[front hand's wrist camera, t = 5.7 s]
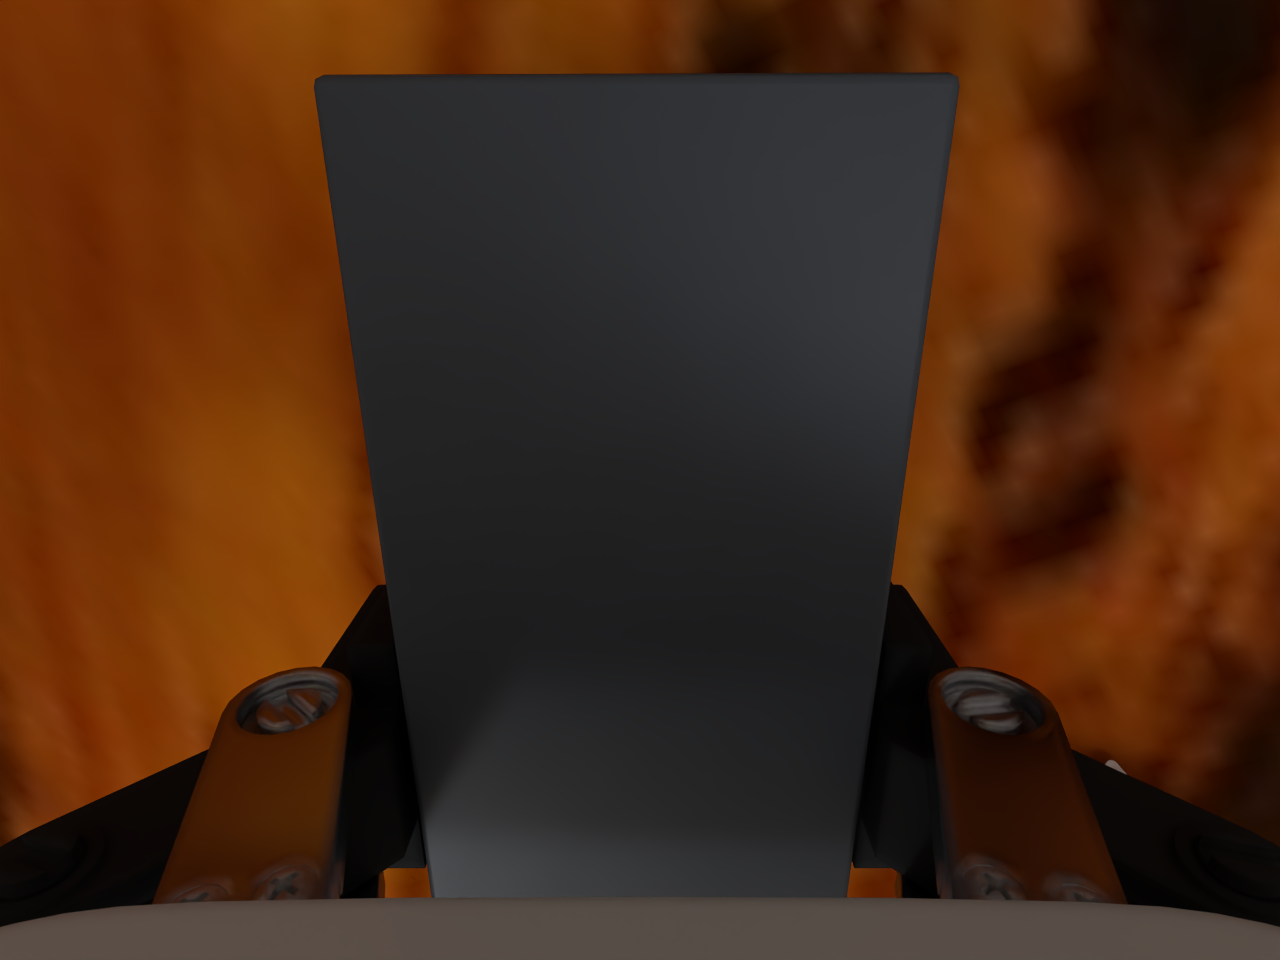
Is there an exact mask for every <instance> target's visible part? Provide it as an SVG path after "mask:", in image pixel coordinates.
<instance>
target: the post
mask: <svg viewBox="0 0 1280 960" xmlns="http://www.w3.org/2000/svg"><path fill="white" fill-rule="evenodd" d="M314 91H315V98H316V105H317V111H318V118H319V125H320V132H321V139H322V146H323V153H324V160H325V166H326V173H327V180H328V187H329V194H330V201H331V208H332V215H333V221H334V228H335V235H336V242H337V249H338V256H339V263H340V270H341V276H342V283H343V290H344V297H345V304H346V311H347V318H348V325H349V331H350V338H351V345H352V352H353V359H354V366H355V373H356V380H357V386H358V393H359V400H360V407H361V414H362V421H363V428H364V435H365V441H366V448H367V455H368V462H369V469H370V476H371V483H372V490H373V496H374V503H375V510H376V517H377V524H378V531H379V538H380V545H381V551H382V558H383V565H384V572H385V579H386V586H387V593H388V600H389V606H390V613H391V620H392V627H393V634H394V641H395V648H396V655H397V661H398V668H399V675H400V682H401V689H402V696H403V703H404V710H405V716H406V723H407V730H408V737H409V744H410V751H411V758H412V765H413V771H414V778H415V785H416V792H417V799H418V806H419V813H420V820H421V827H422V833H423V840H424V847H425V854H426V861H427V868H428V875H429V882H430V888H431V895H432V898H492V897H788V898H847V891H848V883H849V876H850V869H851V862H852V855H853V847H854V840H855V833H856V826H857V819H858V811H859V804H860V797H861V790H862V783H863V775H864V768H865V761H866V754H867V747H868V739H869V732H870V725H871V718H872V711H873V704H874V696H875V689H876V682H877V675H878V668H879V660H880V653H881V646H882V639H883V632H884V624H885V617H886V610H887V603H888V596H889V588H890V581H891V574H892V567H893V560H894V552H895V545H896V538H897V531H898V524H899V517H900V509H901V502H902V495H903V488H904V481H905V473H906V466H907V459H908V452H909V445H910V437H911V430H912V423H913V416H914V409H915V401H916V394H917V387H918V380H919V373H920V365H921V358H922V351H923V344H924V337H925V330H926V322H927V315H928V308H929V301H930V294H931V286H932V279H933V272H934V265H935V258H936V250H937V243H938V236H939V229H940V222H941V214H942V207H943V200H944V193H945V186H946V178H947V171H948V164H949V157H950V150H951V143H952V135H953V128H954V121H955V114H956V107H957V99H958V92H959V80H958V77H957V76H955V75H953V74H951V73H683V74H398V75H323V76H321V77H319V78H317V79H315V84H314Z"/></svg>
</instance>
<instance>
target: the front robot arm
mask: <svg viewBox="0 0 1280 960" xmlns="http://www.w3.org/2000/svg"><path fill="white" fill-rule="evenodd" d="M852 862H853V865H854V868H893V869H894V870H896V871H897V874H896V880H895V898H788V897H492V898H385V880H384V874H383V871H384V870H385V869H387V868H425V867H426V863H427V861H426V854H425V847H424V840H423V833H422V827H421V820H420V813H419V806H418V799H417V792H416V785H415V778H414V771H413V765H412V758H411V751H410V744H409V737H408V730H407V723H406V716H405V710H404V703H403V696H402V689H401V682H400V675H399V668H398V661H397V655H396V648H395V641H394V634H393V627H392V620H391V613H390V606H389V600H388V593H387V586H386V585H377V586H376V587H375V588H374V589H373V591H372V592H371V594H370V595H369V597H368V598H367V600H366V601H365V603H364V604H363V606H362V607H361V609H360V610H359V611H358V613H357V614H356V616H355V617H354V619H353V620H352V622H351V623H350V625H349V626H348V628H347V629H346V631H345V632H344V634H343V635H342V637H341V638H340V640H339V641H338V643H337V644H336V646H335V647H334V649H333V650H332V652H331V653H330V655H329V656H328V658H327V659H326V661H325V662H324V664H323V665H322V667H302V668H294V669H290V670H286V671H281V672H277V673H275V674H272V675H270V676H267V677H265V678H262V679H260V680H258V681H256V682H254V683H253V684H251V685H249V686H248V687H246V688H244V689H243V690H241V691H240V692H239V693H238V694H237V695H236V696H235V697H234V698H233V699H232V700H230V701H229V703H228V705H227V706H226V708H225V709H224V711H223V713H222V715H221V718H220V720H219V723H218V726H217V729H216V731H215V734H214V737H213V739H212V742H211V745H210V748H209V749H208V750H206V751H203V752H201V753H199V754H197V755H195V756H192V757H190V758H188V759H186V760H184V761H181V762H179V763H177V764H175V765H173V766H171V767H168V768H166V769H164V770H162V771H160V772H157V773H155V774H153V775H151V776H149V777H146V778H144V779H142V780H140V781H138V782H135V783H133V784H131V785H129V786H127V787H125V788H122V789H120V790H118V791H116V792H114V793H111V794H109V795H107V796H105V797H103V798H100V799H98V800H96V801H94V802H92V803H90V804H87V805H85V806H83V807H81V808H79V809H76V810H74V811H72V812H70V813H68V814H65V815H63V816H61V817H59V818H57V819H54V820H52V821H50V822H48V823H46V824H44V825H41V826H39V827H37V828H35V829H33V830H30V831H28V832H27V833H25V834H23V835H21V836H19V837H17V838H15V839H14V840H12V841H10V842H8V843H6V844H4V845H3V846H1V847H0V960H1280V847H1278V846H1277V845H1275V844H1273V843H1272V842H1270V841H1268V840H1266V839H1264V838H1262V837H1260V836H1259V835H1257V834H1255V833H1253V832H1251V831H1249V830H1247V829H1245V828H1243V827H1240V826H1238V825H1236V824H1234V823H1232V822H1229V821H1227V820H1225V819H1223V818H1221V817H1219V816H1216V815H1214V814H1212V813H1210V812H1208V811H1205V810H1203V809H1201V808H1199V807H1197V806H1194V805H1192V804H1190V803H1188V802H1186V801H1183V800H1181V799H1179V798H1177V797H1175V796H1173V795H1170V794H1168V793H1166V792H1164V791H1162V790H1159V789H1157V788H1155V787H1153V786H1151V785H1148V784H1146V783H1144V782H1142V781H1140V780H1138V779H1135V778H1133V777H1131V776H1129V775H1127V774H1124V773H1122V772H1120V771H1118V770H1116V769H1113V768H1111V767H1109V766H1107V765H1105V764H1102V763H1100V762H1098V761H1096V760H1094V759H1092V758H1089V757H1087V756H1085V755H1083V754H1081V753H1078V752H1076V751H1074V750H1072V749H1071V748H1070V745H1069V742H1068V739H1067V737H1066V734H1065V731H1064V729H1063V726H1062V723H1061V720H1060V718H1059V715H1058V713H1057V711H1056V710H1055V708H1054V706H1053V705H1052V703H1051V701H1050V700H1048V699H1047V698H1046V697H1045V696H1044V695H1043V694H1042V693H1041V692H1040V691H1039V690H1037V689H1036V688H1034V687H1032V686H1031V685H1029V684H1027V683H1026V682H1024V681H1022V680H1020V679H1018V678H1015V677H1013V676H1010V675H1008V674H1005V673H1003V672H999V671H994V670H990V669H986V668H978V667H958V666H957V664H956V663H955V661H954V660H953V658H952V657H951V655H950V654H949V652H948V651H947V650H946V648H945V647H944V645H943V644H942V642H941V641H940V639H939V638H938V636H937V635H936V633H935V632H934V630H933V629H932V627H931V626H930V624H929V623H928V621H927V620H926V618H925V617H924V615H923V614H922V612H921V611H920V609H919V608H918V606H917V605H916V603H915V602H914V600H913V599H912V597H911V596H910V594H909V593H908V591H907V590H906V589H905V588H904V587H903V586H902V585H893V584H892V582H891V581H890V588H889V596H888V603H887V610H886V617H885V624H884V632H883V639H882V646H881V653H880V660H879V668H878V675H877V682H876V689H875V696H874V704H873V711H872V718H871V725H870V732H869V739H868V747H867V754H866V761H865V768H864V775H863V783H862V790H861V797H860V804H859V811H858V819H857V826H856V833H855V840H854V847H853V855H852Z"/></svg>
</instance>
